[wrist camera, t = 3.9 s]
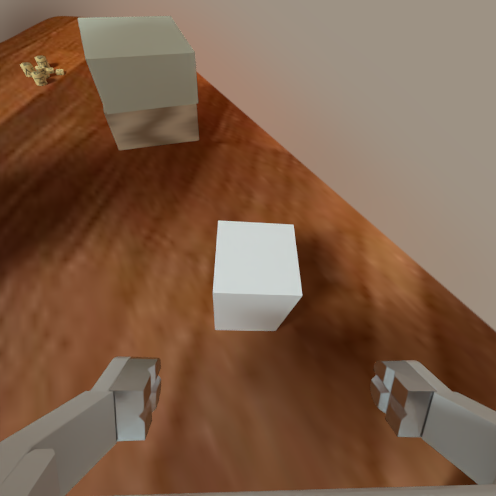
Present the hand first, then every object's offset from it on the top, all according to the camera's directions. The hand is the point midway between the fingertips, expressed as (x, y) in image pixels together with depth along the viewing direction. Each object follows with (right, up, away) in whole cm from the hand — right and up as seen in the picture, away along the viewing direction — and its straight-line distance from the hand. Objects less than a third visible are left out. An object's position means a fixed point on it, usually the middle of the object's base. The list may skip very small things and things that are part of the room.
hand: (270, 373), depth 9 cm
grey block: (-1, 0, +12) cm, 13 cm away
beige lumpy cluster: (-32, +31, +29) cm, 53 cm away
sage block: (-13, +24, +21) cm, 35 cm away
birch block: (-14, +22, +25) cm, 36 cm away
